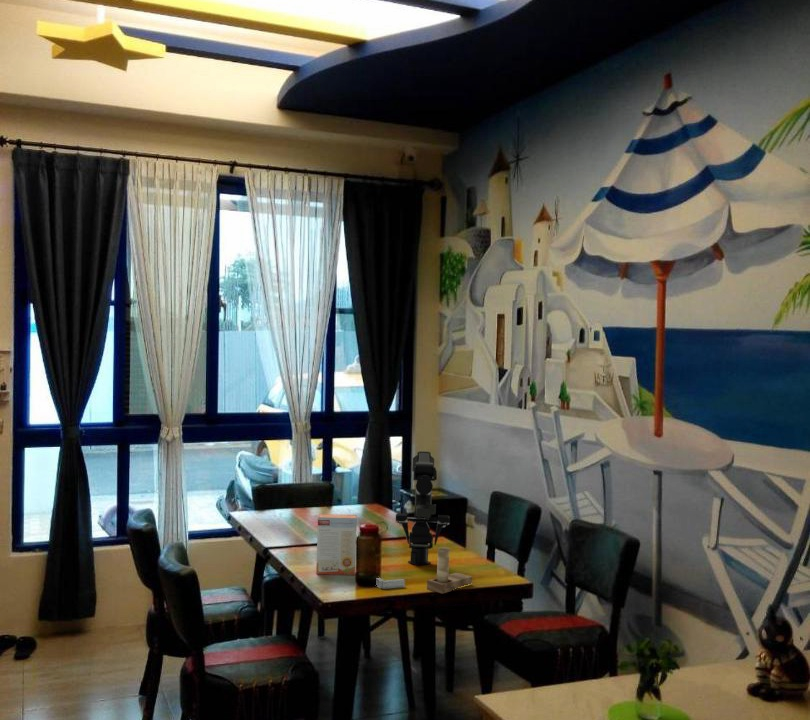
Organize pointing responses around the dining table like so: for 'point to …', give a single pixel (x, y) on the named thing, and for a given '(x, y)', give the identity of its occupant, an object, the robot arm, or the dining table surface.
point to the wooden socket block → (449, 583)
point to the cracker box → (336, 544)
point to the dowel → (443, 565)
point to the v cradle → (390, 583)
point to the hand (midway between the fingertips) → (421, 544)
